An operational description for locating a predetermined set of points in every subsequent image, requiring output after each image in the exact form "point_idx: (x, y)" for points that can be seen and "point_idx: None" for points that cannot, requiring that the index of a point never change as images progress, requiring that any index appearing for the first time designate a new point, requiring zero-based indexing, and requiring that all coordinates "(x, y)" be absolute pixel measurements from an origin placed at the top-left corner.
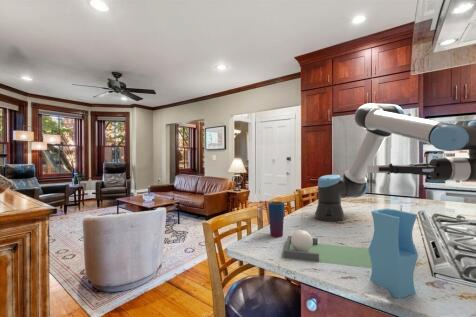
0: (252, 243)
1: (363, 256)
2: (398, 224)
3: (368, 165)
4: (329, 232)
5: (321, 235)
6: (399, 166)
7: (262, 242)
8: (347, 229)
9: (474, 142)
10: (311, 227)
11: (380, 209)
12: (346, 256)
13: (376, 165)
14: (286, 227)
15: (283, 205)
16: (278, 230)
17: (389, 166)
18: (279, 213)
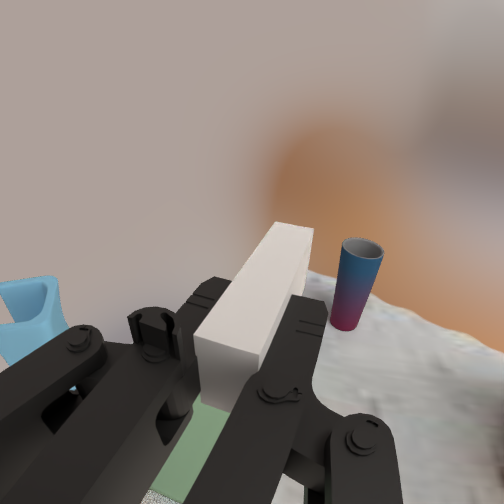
0: (307, 286)
1: (197, 445)
2: (4, 300)
3: (275, 225)
4: (413, 440)
5: (382, 414)
6: (34, 351)
7: (313, 298)
8: (451, 494)
9: None
10: (444, 401)
11: (51, 300)
12: (205, 408)
13: (251, 255)
14: (424, 347)
15: (354, 259)
16: (334, 304)
17: (244, 389)
18: (341, 270)
